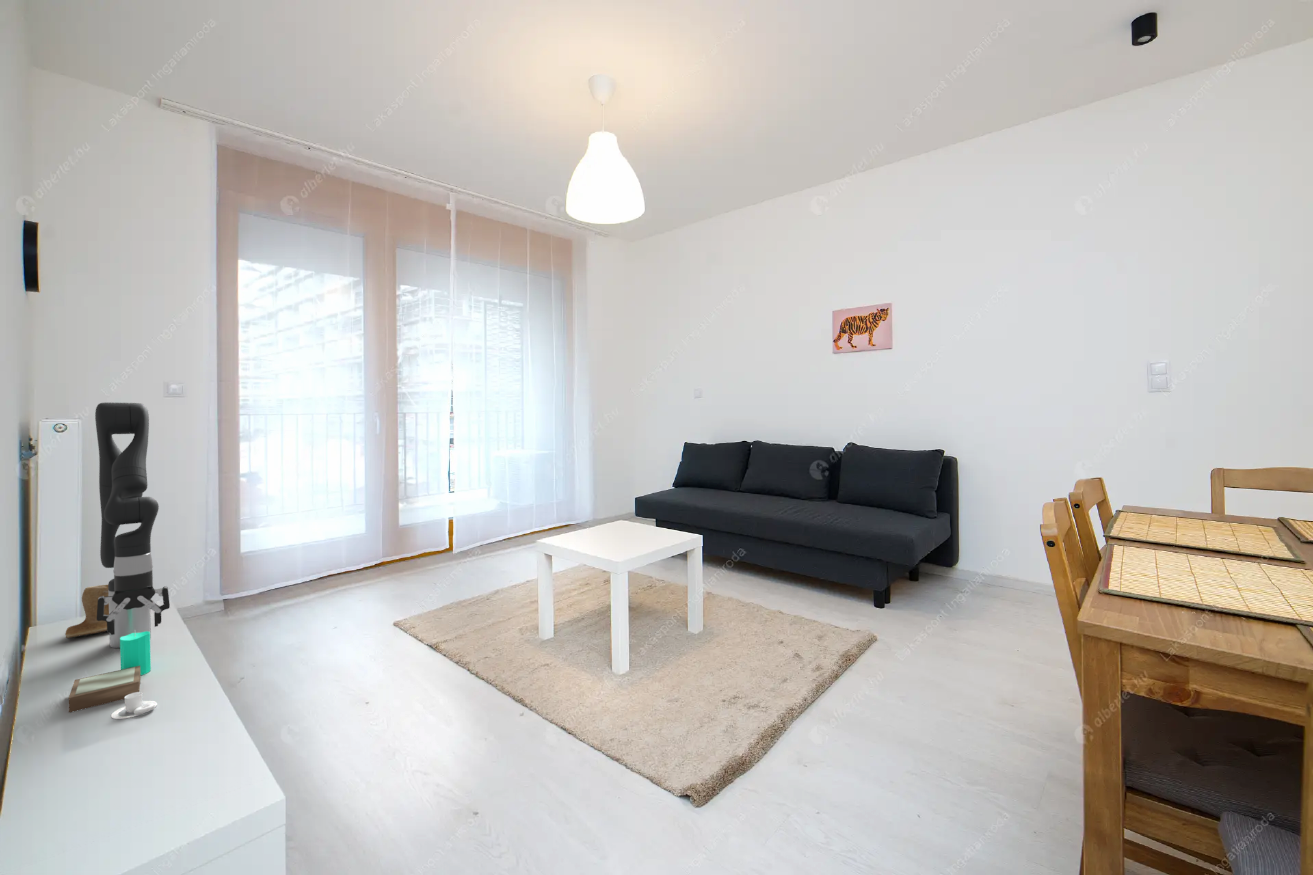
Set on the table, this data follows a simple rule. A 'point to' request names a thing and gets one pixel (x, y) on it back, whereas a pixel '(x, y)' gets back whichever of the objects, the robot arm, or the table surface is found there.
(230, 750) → the table surface
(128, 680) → the framed mirror
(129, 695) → the teacup and saucer
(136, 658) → the candle
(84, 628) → the brown suede boot
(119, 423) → the robot arm
